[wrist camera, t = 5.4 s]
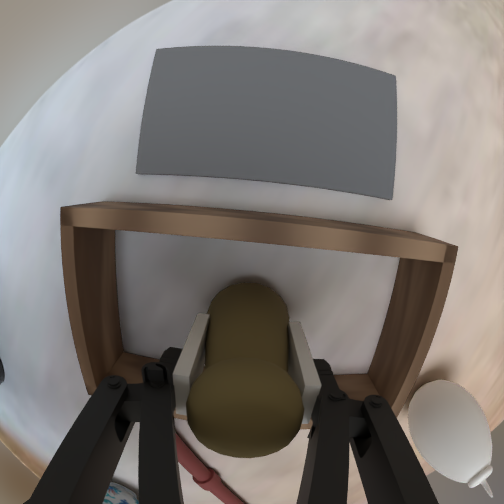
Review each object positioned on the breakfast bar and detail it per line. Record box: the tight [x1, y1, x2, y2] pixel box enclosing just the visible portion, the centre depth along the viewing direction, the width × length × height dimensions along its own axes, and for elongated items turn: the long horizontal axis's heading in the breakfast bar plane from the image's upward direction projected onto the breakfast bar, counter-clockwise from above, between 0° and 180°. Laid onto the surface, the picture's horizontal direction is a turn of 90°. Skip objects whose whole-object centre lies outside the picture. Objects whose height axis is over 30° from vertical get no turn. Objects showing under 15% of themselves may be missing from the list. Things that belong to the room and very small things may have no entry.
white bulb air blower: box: [408, 380, 493, 498], centre depth 15 cm, size 8×8×18 cm
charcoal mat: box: [136, 46, 397, 200], centre depth 18 cm, size 20×11×1 cm, turn 85°
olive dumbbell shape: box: [186, 282, 304, 458], centre depth 14 cm, size 6×6×11 cm
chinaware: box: [103, 482, 139, 504], centre depth 28 cm, size 15×15×8 cm
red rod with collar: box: [175, 433, 244, 504], centre depth 28 cm, size 45×3×3 cm, turn 20°
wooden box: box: [60, 202, 458, 429], centre depth 19 cm, size 26×15×6 cm, turn 85°
